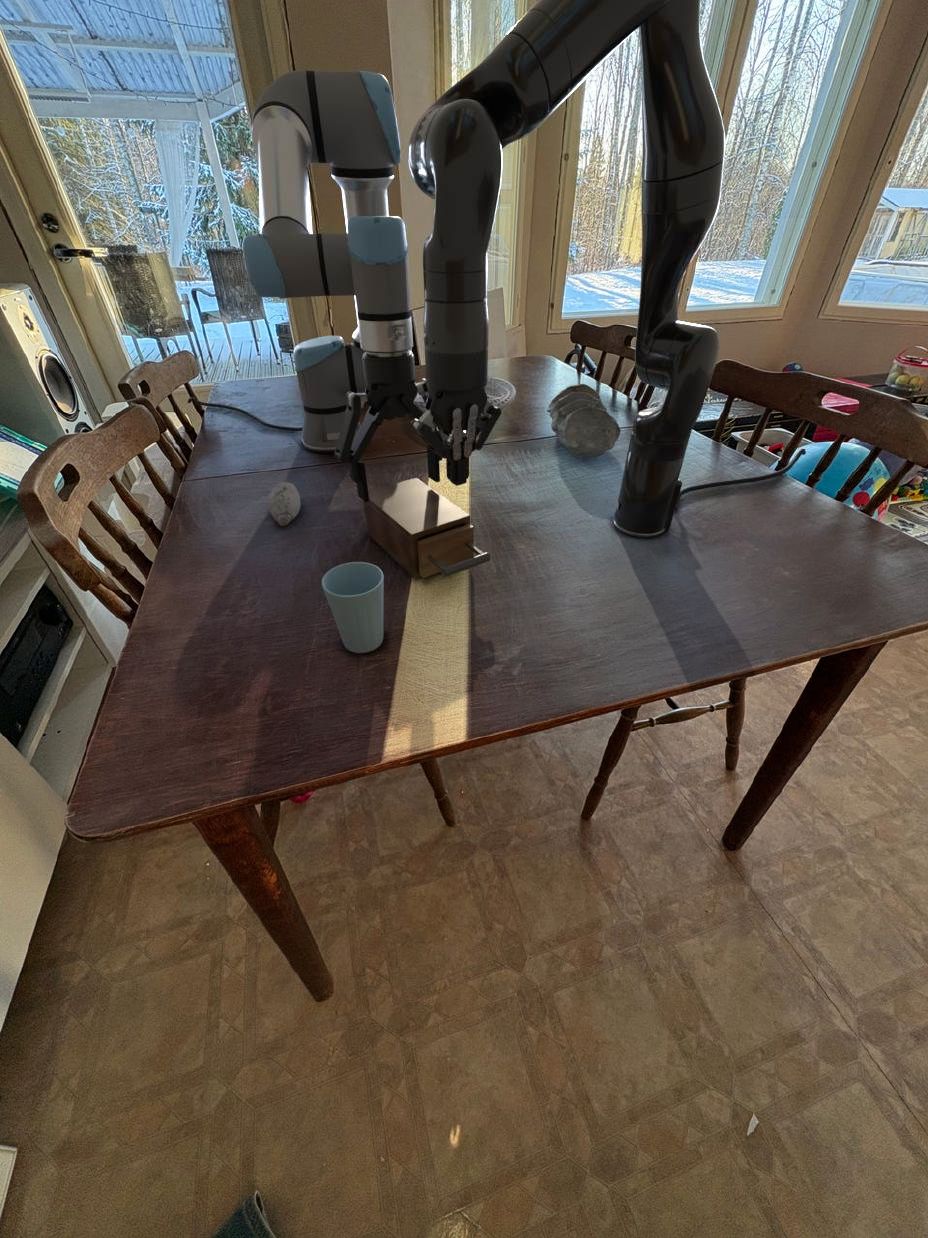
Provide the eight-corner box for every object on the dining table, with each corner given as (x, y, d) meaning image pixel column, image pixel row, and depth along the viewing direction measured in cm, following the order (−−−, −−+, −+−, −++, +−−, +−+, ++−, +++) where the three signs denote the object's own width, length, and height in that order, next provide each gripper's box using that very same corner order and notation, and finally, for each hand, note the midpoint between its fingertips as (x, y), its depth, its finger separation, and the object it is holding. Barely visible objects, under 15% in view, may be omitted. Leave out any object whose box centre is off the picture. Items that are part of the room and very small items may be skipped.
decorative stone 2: (538, 419, 142) (541, 380, 136) (592, 418, 142) (597, 380, 136) (558, 465, 117) (563, 421, 111) (623, 464, 117) (632, 420, 111)
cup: (324, 638, 71) (310, 576, 65) (371, 615, 75) (362, 555, 68) (353, 667, 67) (340, 604, 60) (401, 641, 70) (395, 579, 64)
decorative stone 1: (269, 532, 94) (264, 515, 92) (270, 495, 106) (266, 480, 104) (303, 527, 95) (299, 510, 93) (300, 492, 107) (297, 476, 105)
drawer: (493, 575, 81) (495, 541, 77) (442, 596, 77) (441, 561, 73) (424, 520, 95) (422, 489, 91) (377, 535, 91) (373, 503, 87)
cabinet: (470, 558, 87) (470, 515, 82) (414, 579, 82) (411, 534, 77) (419, 518, 98) (416, 477, 93) (367, 534, 94) (361, 492, 88)
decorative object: (392, 399, 157) (390, 377, 153) (480, 386, 167) (480, 365, 163) (432, 430, 136) (431, 406, 132) (530, 413, 146) (532, 390, 142)
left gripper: (315, 368, 66) (340, 516, 79) (473, 344, 77) (472, 478, 90) (295, 357, 71) (322, 499, 84) (446, 337, 82) (449, 465, 95)
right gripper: (423, 357, 55) (431, 505, 66) (520, 341, 60) (512, 480, 71) (391, 344, 59) (403, 484, 70) (483, 331, 65) (481, 463, 76)
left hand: (400, 488), depth 87 cm, fingers open, 13 cm apart
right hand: (458, 482), depth 71 cm, fingers closed
